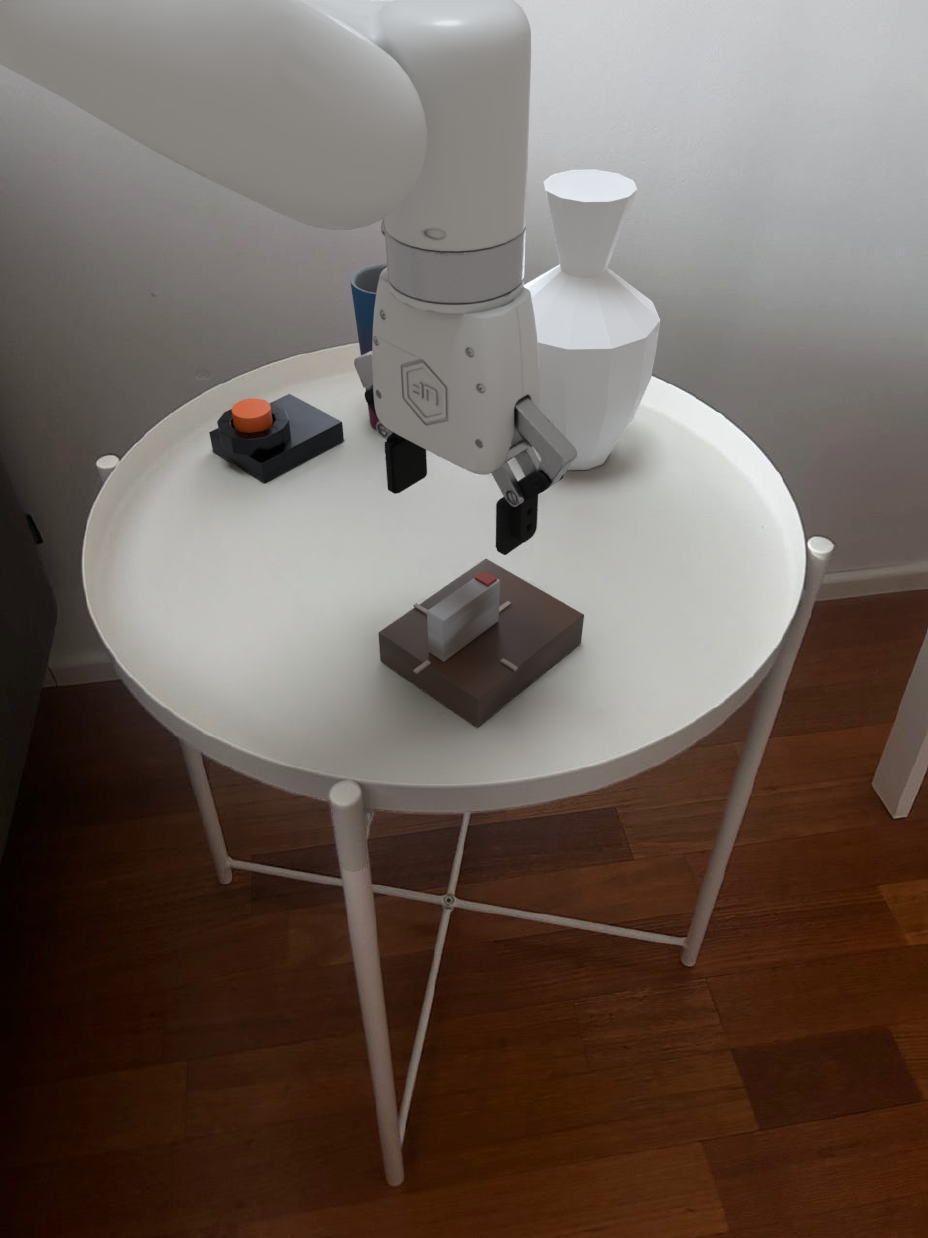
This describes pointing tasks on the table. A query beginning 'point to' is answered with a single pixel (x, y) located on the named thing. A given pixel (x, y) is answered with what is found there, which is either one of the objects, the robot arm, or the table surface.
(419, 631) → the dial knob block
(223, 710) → the table surface
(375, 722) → the table surface
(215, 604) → the table surface
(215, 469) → the table surface
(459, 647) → the grey rectangular block
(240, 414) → the button
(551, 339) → the vase
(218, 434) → the button box
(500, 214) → the robot arm
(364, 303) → the cup
